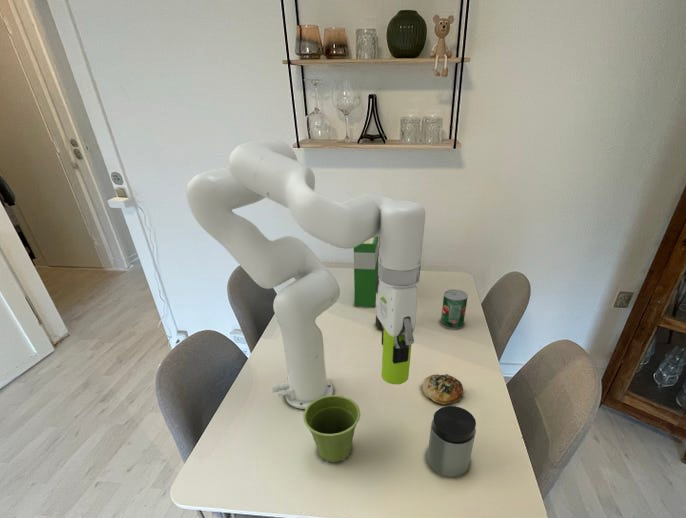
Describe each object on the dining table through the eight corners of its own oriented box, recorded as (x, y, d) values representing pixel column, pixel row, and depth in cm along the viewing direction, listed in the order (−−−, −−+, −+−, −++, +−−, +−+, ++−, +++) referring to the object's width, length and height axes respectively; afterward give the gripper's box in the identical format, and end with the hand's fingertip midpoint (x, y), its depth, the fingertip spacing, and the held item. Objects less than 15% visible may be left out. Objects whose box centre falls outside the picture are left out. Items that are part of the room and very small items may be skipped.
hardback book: (360, 286, 158) (359, 228, 145) (378, 287, 158) (378, 229, 144) (354, 306, 143) (353, 243, 130) (374, 307, 143) (375, 244, 130)
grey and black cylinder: (438, 481, 79) (444, 441, 72) (420, 449, 86) (424, 410, 79) (476, 471, 81) (486, 430, 74) (456, 440, 88) (463, 401, 81)
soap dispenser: (372, 372, 85) (375, 291, 73) (400, 365, 87) (406, 285, 76) (384, 388, 80) (389, 304, 69) (413, 380, 83) (421, 297, 71)
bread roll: (468, 385, 104) (470, 372, 101) (454, 414, 97) (455, 401, 94) (430, 374, 109) (430, 361, 106) (414, 400, 102) (413, 387, 99)
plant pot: (297, 450, 86) (291, 413, 79) (337, 423, 93) (335, 387, 86) (331, 482, 79) (328, 444, 72) (372, 450, 86) (372, 413, 79)
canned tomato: (468, 326, 131) (472, 297, 125) (448, 330, 129) (452, 301, 123) (455, 315, 137) (459, 287, 131) (436, 320, 135) (439, 291, 129)
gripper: (365, 257, 76) (365, 334, 86) (397, 295, 62) (391, 381, 72) (401, 254, 78) (396, 329, 88) (438, 290, 64) (427, 374, 74)
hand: (394, 352), depth 80 cm, fingers closed on soap dispenser, 5 cm apart
